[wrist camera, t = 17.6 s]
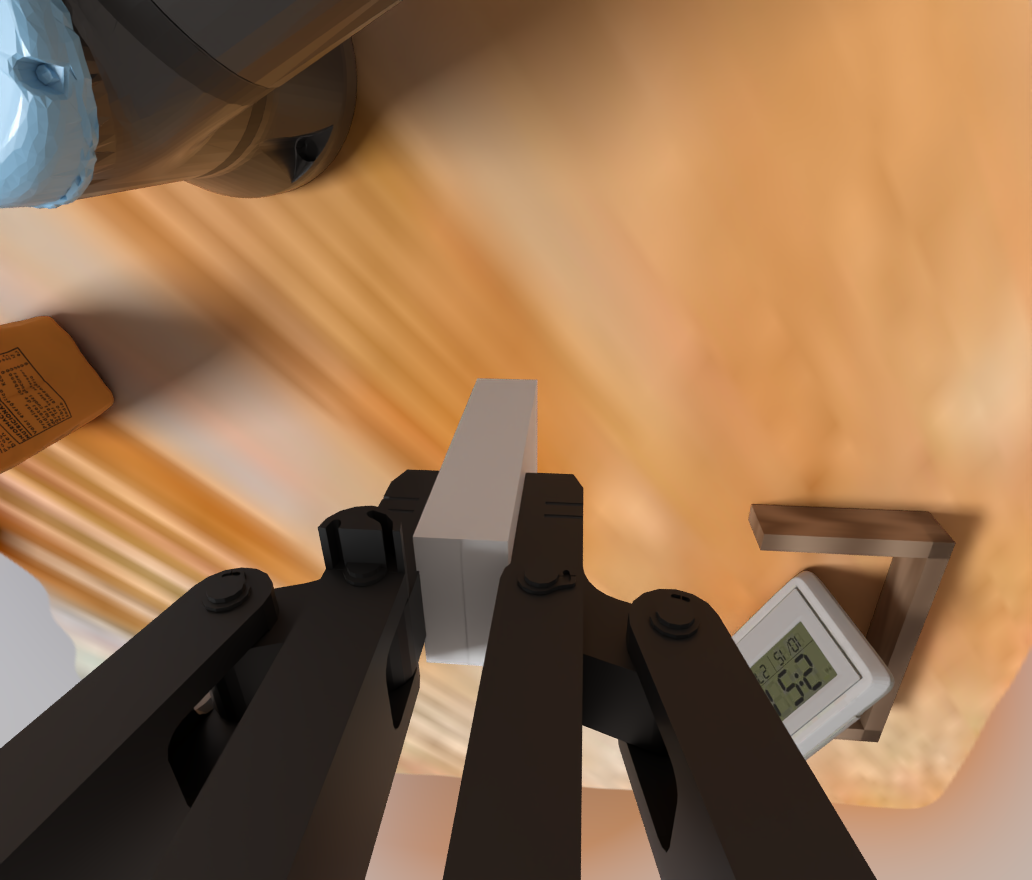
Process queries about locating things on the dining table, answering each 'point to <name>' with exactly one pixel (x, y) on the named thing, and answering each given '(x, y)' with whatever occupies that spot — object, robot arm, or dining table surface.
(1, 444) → the coffee package
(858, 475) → the dining table surface
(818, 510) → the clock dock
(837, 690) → the digital clock
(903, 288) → the dining table surface
